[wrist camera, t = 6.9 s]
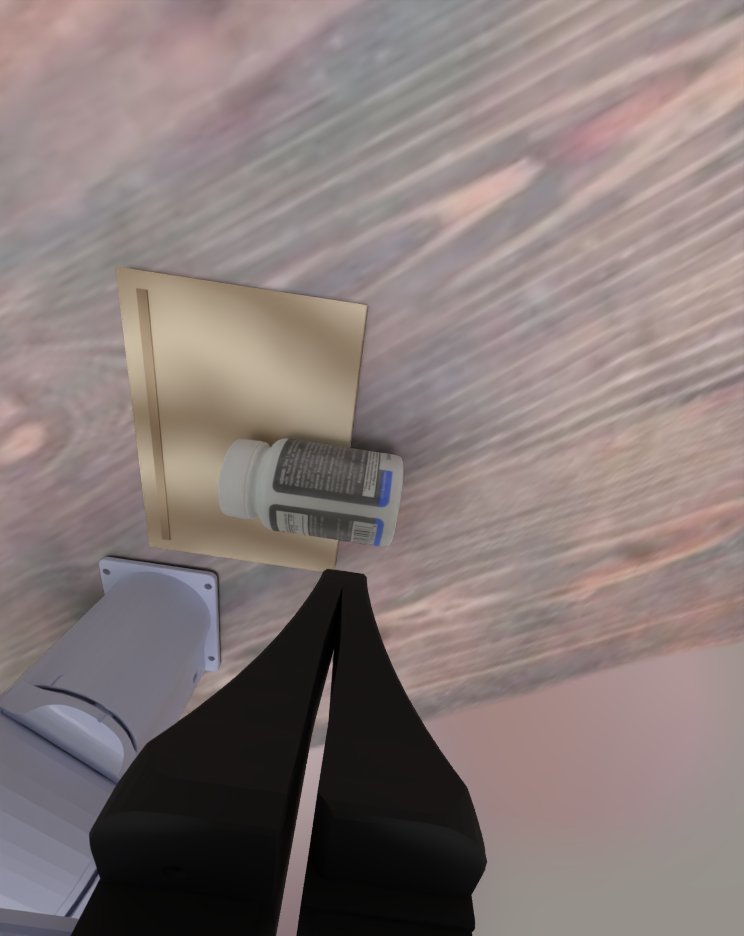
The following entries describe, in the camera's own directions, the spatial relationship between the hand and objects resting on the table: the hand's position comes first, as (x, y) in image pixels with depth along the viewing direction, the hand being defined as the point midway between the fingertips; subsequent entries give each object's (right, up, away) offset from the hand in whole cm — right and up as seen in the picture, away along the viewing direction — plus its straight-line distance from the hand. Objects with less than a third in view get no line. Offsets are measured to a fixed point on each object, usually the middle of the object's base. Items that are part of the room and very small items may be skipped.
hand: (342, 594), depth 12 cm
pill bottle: (+2, +2, +7) cm, 7 cm away
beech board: (-6, +6, +9) cm, 13 cm away
